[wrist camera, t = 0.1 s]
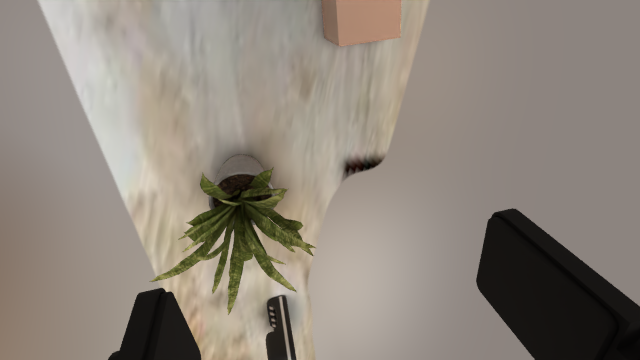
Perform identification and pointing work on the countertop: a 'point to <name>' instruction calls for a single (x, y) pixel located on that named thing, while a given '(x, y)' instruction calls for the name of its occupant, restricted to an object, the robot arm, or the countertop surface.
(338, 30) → the cube
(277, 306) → the battery charger
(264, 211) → the house plant
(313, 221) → the countertop surface
